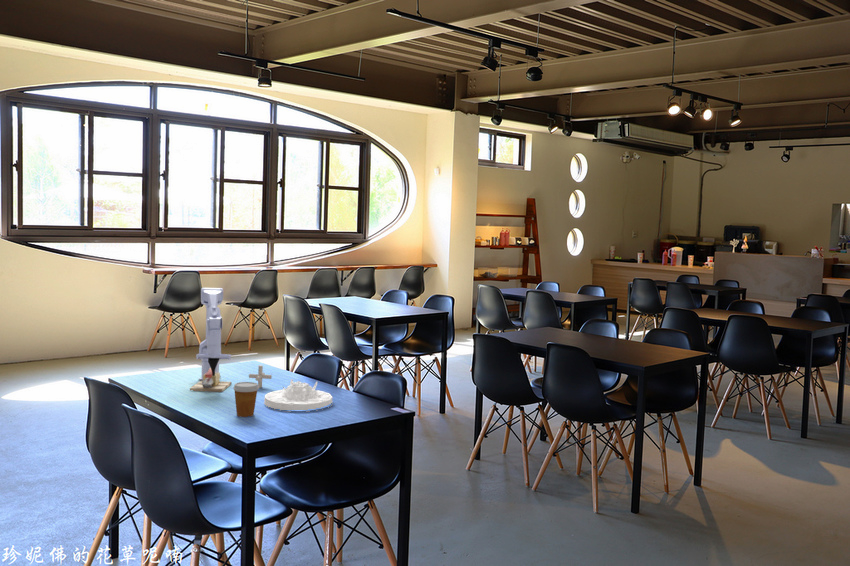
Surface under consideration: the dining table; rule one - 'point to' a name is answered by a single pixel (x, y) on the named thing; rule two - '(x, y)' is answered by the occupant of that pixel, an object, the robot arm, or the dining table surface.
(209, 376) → the lever
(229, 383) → the mounting board
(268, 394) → the cake
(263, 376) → the pipe connector
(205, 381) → the ball valve
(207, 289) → the robot arm
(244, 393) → the disposable coffee cup
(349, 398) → the dining table surface
